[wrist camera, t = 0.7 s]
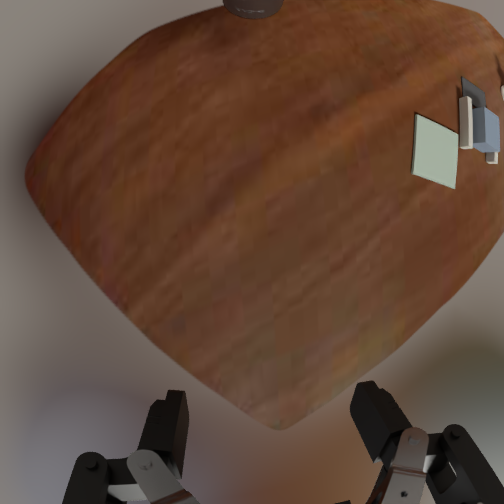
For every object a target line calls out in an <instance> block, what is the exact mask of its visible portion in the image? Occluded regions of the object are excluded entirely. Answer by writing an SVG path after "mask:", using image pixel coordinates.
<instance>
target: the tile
mask: <svg viewBox="0 0 504 504" xmlns="http://www.w3.org/2000/svg"><path fill="white" fill-rule="evenodd" d="M457 156H458V134H456V133H455V132H453V131H451V130H449V129H447V128H445V127H443V126H441V125H439V124H437V123H435V122H433V121H431V120H429V119H426V118H424V117H422V116H420V115H418V114H416V115H415V131H414V147H413V159H412V170H411V174H414V175H417V176H420V177H423V178H425V179H428V180H431V181H434V182H437V183H439V184H442V185H445V186H447V187H450V188H452V189H455V182H456V171H457Z"/></svg>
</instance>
